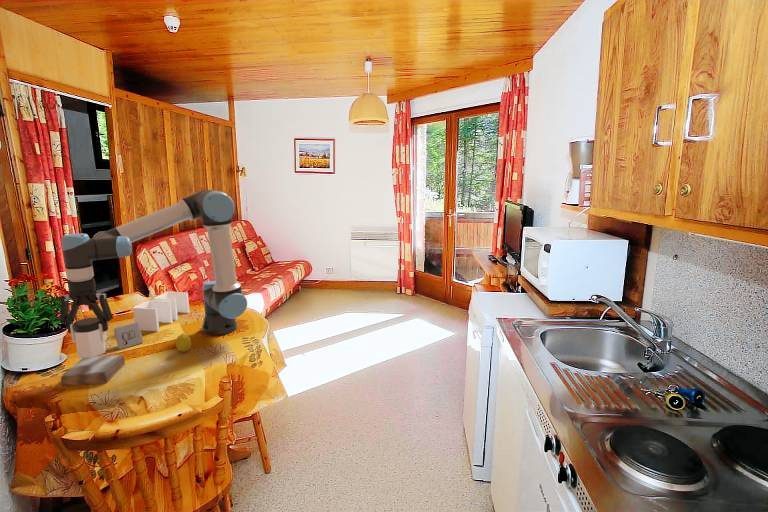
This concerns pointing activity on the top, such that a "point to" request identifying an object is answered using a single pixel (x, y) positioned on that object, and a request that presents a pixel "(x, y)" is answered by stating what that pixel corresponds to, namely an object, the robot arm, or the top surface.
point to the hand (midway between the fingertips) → (89, 340)
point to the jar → (88, 338)
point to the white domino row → (161, 310)
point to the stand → (93, 370)
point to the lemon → (183, 342)
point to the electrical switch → (128, 335)
